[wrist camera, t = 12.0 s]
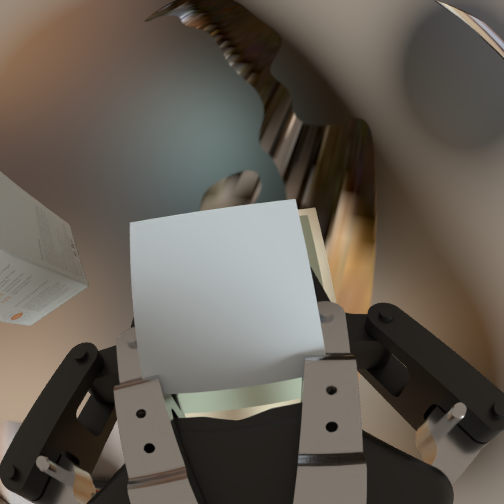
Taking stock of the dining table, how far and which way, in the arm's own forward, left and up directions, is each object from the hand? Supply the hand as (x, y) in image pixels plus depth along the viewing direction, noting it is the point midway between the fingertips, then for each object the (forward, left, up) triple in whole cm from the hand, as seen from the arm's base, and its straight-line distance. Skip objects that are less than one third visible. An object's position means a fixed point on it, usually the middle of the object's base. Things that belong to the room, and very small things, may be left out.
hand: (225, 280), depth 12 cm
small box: (-16, +4, -8) cm, 18 cm away
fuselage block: (0, -1, -6) cm, 6 cm away
